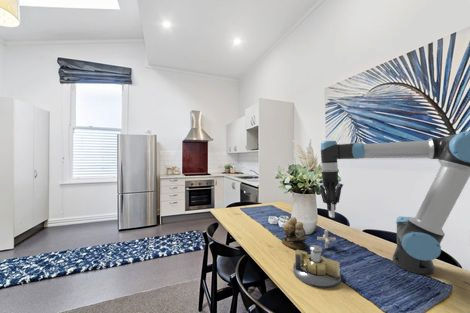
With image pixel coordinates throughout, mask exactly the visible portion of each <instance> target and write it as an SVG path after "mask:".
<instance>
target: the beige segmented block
mask: <svg viewBox="0 0 470 313" xmlns="http://www.w3.org/2000/svg"><path fill="white" fill-rule="evenodd" d="M294 252H295V253H294V255H295V254H299V255H300V258H301V265H304V268H305V269H306V270H307V271H308V272H310V273H313V274H315V275H316V274H317V275H325V274H329V275H332V276H335V277H339V275H340V273H341V271H340V269H341V267H340V262H339V261H336V260H334V259H330V258H326V257H325V256H323V255H321V263H314V262H311V253H310V254H308V252H307V251H305V250H298V249H297V250H294Z"/></svg>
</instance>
